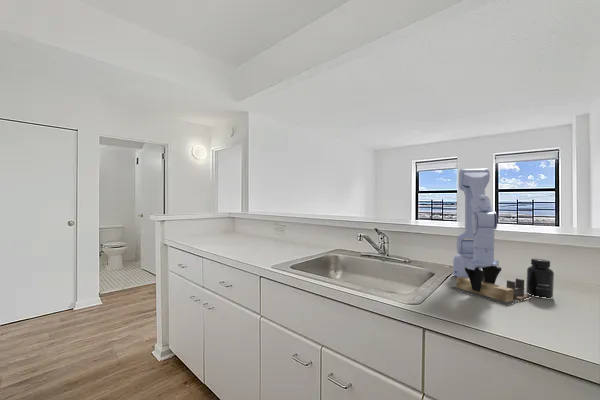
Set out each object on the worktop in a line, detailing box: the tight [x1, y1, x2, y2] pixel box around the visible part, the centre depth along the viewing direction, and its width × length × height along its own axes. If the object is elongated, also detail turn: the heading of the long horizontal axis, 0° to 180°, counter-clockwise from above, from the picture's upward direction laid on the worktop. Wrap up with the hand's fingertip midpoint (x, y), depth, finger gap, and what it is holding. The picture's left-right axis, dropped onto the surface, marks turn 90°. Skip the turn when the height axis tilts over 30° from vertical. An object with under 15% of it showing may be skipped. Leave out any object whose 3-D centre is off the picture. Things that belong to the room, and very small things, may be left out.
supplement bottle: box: [525, 258, 555, 298], centre depth 94 cm, size 7×7×12 cm
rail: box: [456, 277, 513, 302], centre depth 94 cm, size 16×4×4 cm, turn 28°
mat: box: [450, 285, 520, 306], centre depth 94 cm, size 18×7×1 cm, turn 28°
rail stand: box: [480, 269, 533, 302], centre depth 98 cm, size 18×7×6 cm, turn 28°
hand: (482, 289), depth 94 cm, fingers open, 7 cm apart
